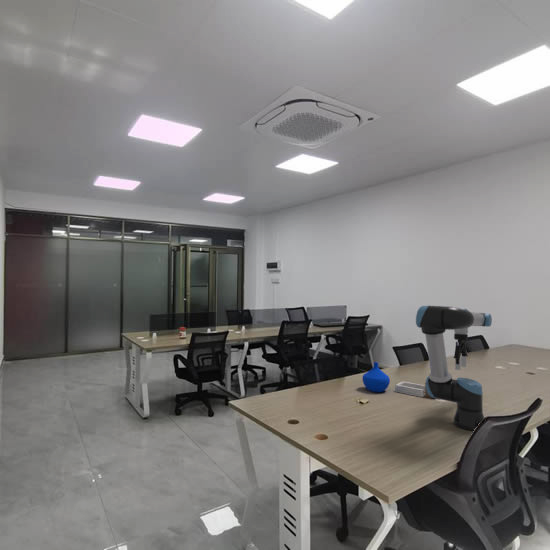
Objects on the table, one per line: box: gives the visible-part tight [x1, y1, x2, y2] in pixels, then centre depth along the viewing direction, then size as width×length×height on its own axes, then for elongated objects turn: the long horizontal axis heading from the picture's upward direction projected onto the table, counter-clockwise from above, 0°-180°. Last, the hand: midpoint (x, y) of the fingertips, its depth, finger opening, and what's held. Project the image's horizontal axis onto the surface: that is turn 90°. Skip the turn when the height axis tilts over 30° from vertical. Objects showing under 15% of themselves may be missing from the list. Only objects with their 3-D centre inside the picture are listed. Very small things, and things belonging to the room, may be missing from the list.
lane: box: [394, 381, 425, 398], centre depth 244 cm, size 19×13×4 cm
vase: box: [362, 361, 391, 393], centre depth 248 cm, size 18×18×19 cm
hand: (460, 368), depth 219 cm, fingers open, 13 cm apart
